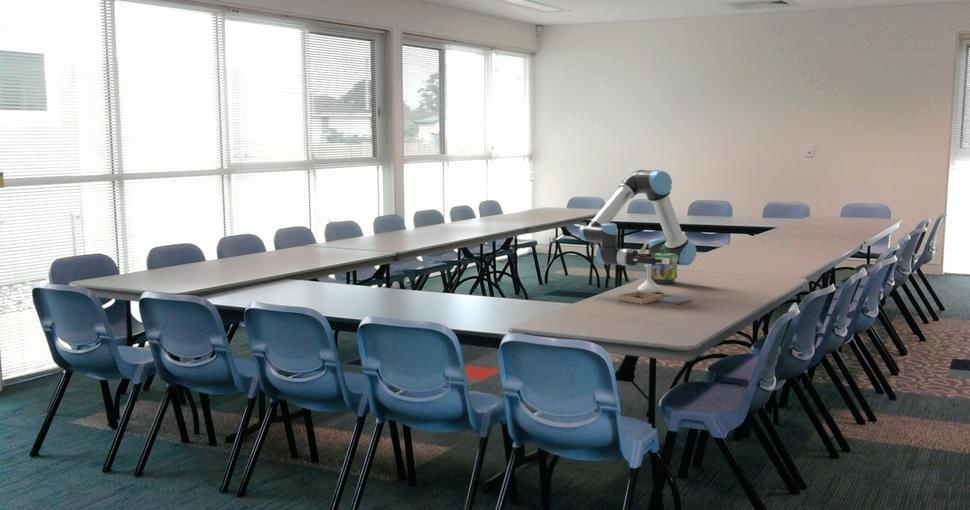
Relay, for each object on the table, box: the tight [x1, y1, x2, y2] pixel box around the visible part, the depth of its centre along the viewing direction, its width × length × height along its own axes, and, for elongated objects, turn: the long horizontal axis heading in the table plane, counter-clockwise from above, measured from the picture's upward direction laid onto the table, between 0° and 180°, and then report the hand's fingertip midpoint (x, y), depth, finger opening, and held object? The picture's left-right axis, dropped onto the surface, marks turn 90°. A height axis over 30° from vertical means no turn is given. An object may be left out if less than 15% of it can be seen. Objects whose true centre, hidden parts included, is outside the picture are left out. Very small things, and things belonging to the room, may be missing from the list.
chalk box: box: [651, 247, 678, 280], centre depth 426 cm, size 9×9×15 cm
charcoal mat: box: [655, 295, 692, 305], centre depth 427 cm, size 12×12×1 cm
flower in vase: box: [637, 242, 662, 294], centre depth 450 cm, size 13×11×25 cm
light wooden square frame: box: [616, 290, 663, 305], centre depth 432 cm, size 15×15×2 cm
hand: (673, 259), depth 423 cm, fingers closed on chalk box, 10 cm apart
